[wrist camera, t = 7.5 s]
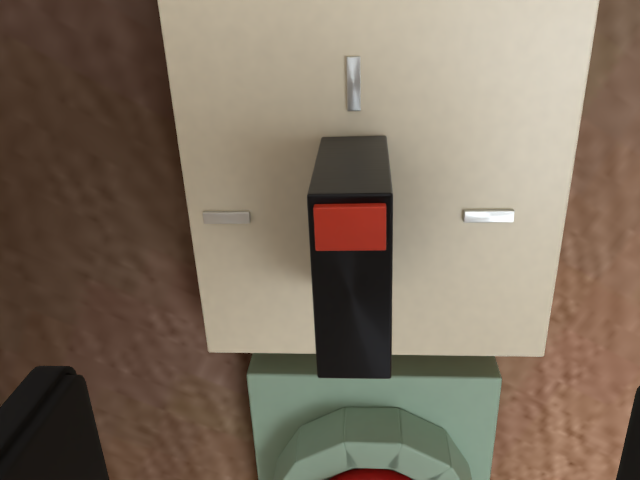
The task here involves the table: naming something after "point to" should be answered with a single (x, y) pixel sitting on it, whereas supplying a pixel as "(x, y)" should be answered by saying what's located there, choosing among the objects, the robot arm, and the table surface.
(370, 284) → the knob
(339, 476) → the power button
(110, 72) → the table surface
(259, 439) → the power switch
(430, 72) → the panel
